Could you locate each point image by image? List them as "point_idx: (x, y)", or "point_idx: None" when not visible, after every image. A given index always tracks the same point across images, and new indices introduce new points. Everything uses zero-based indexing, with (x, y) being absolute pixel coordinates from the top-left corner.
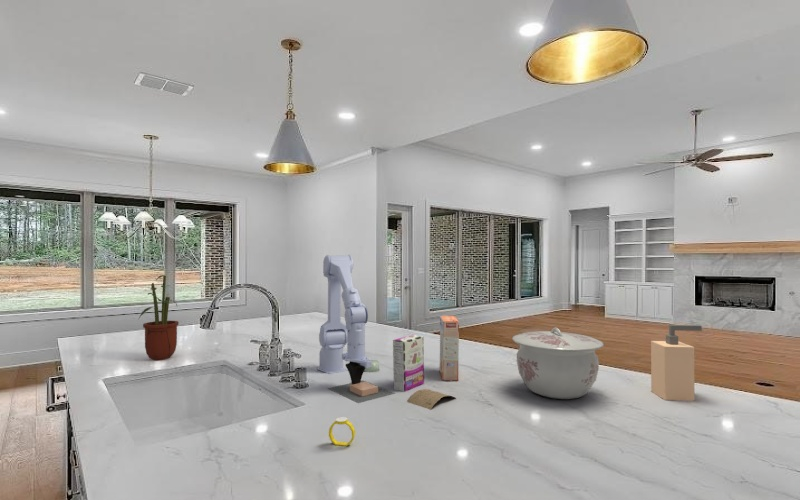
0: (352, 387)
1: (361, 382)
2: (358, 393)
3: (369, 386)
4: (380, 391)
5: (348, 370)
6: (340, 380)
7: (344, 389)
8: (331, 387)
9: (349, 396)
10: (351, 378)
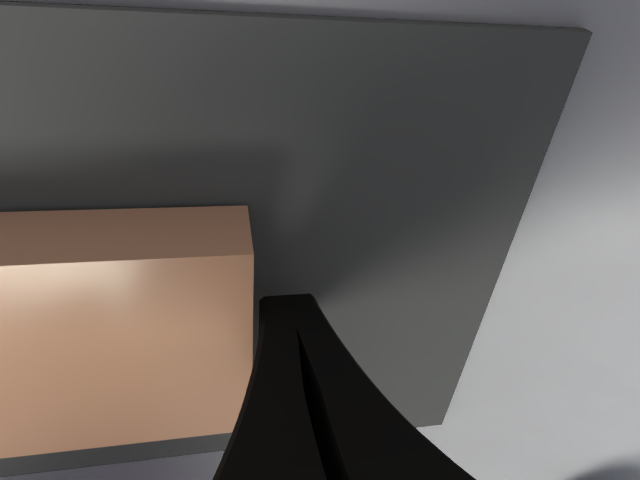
0: (172, 245)
1: None
2: (1, 221)
3: (22, 405)
4: None
5: (421, 452)
6: (634, 300)
7: (358, 186)
8: (561, 100)
9: (13, 75)
10: (326, 358)
